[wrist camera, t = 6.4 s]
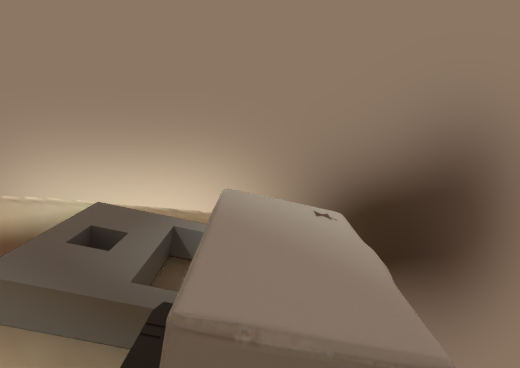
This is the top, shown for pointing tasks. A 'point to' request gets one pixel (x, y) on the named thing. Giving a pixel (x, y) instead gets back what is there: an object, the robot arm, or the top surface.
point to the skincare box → (290, 296)
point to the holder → (94, 274)
